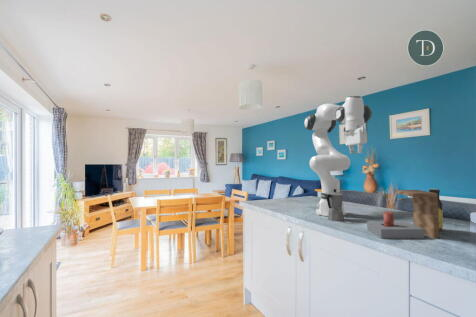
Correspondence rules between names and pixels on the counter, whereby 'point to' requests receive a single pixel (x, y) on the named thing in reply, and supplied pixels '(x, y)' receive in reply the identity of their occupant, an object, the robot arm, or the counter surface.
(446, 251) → the counter surface
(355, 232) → the counter surface
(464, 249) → the counter surface
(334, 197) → the coffeepot
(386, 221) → the peg
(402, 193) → the wooden overhang shelf
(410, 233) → the socket block
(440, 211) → the sauce bottle
